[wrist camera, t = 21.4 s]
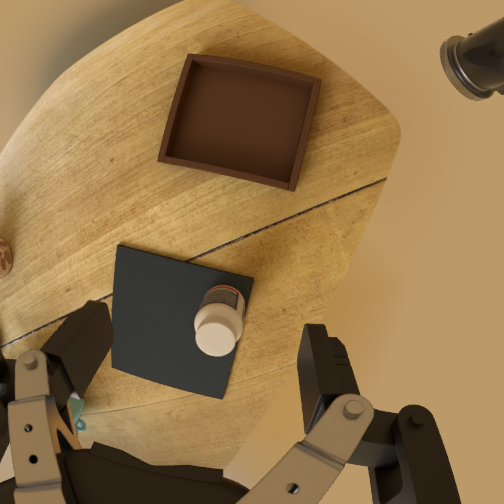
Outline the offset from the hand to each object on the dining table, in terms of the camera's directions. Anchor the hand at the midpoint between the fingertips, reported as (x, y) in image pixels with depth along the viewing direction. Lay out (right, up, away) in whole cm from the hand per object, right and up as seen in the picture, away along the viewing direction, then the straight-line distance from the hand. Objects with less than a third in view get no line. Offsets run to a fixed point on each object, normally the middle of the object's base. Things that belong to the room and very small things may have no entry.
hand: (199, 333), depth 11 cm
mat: (-9, -7, +27) cm, 29 cm away
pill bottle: (-1, -3, +25) cm, 25 cm away
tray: (+1, +18, +20) cm, 27 cm away
